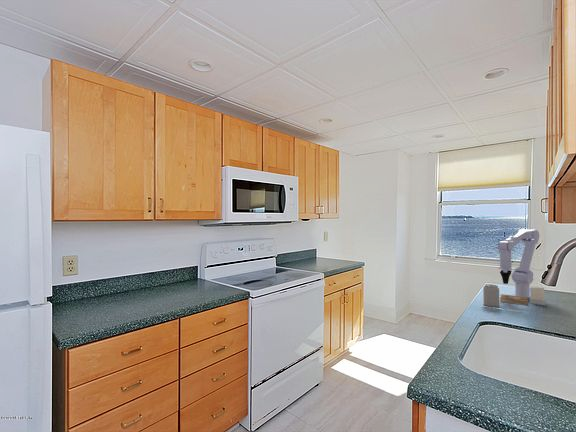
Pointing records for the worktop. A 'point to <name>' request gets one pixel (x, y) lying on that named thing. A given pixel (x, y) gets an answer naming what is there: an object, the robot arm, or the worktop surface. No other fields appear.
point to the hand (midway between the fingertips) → (505, 282)
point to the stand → (538, 301)
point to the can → (491, 295)
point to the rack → (522, 299)
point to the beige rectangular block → (537, 293)
